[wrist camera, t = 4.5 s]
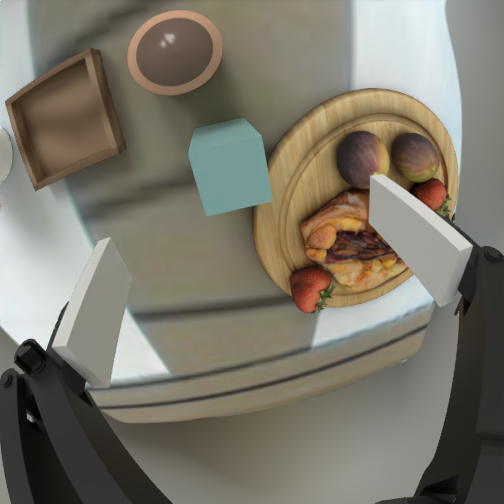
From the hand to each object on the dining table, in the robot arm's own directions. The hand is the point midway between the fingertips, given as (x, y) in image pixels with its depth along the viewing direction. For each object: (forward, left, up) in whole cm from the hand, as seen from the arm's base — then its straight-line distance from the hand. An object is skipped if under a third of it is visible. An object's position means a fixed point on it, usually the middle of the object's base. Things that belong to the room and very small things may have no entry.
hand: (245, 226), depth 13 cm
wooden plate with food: (+12, +17, -18) cm, 27 cm away
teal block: (0, 0, -17) cm, 17 cm away
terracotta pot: (-10, -2, -17) cm, 20 cm away
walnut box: (-8, -16, -17) cm, 24 cm away
